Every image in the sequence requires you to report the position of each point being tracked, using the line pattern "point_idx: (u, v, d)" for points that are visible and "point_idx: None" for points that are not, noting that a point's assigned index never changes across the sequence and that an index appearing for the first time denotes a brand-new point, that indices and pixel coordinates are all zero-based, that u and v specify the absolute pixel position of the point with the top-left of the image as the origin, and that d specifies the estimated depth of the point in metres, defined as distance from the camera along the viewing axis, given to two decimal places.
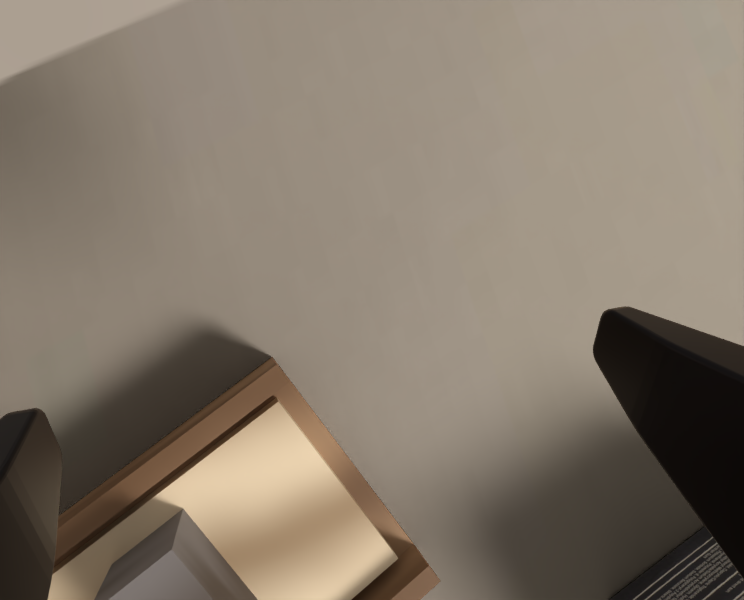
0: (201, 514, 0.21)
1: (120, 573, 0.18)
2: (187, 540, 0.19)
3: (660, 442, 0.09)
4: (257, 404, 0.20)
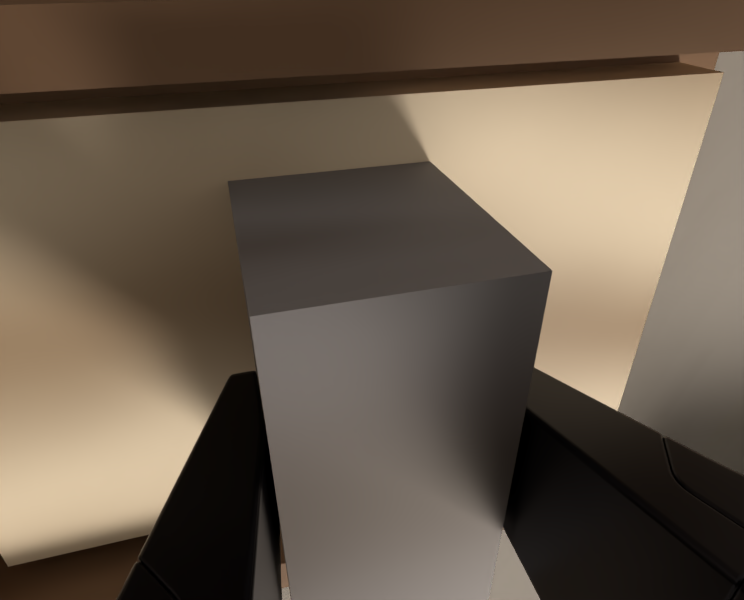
0: None
1: (308, 229, 0.06)
2: None
3: None
4: None
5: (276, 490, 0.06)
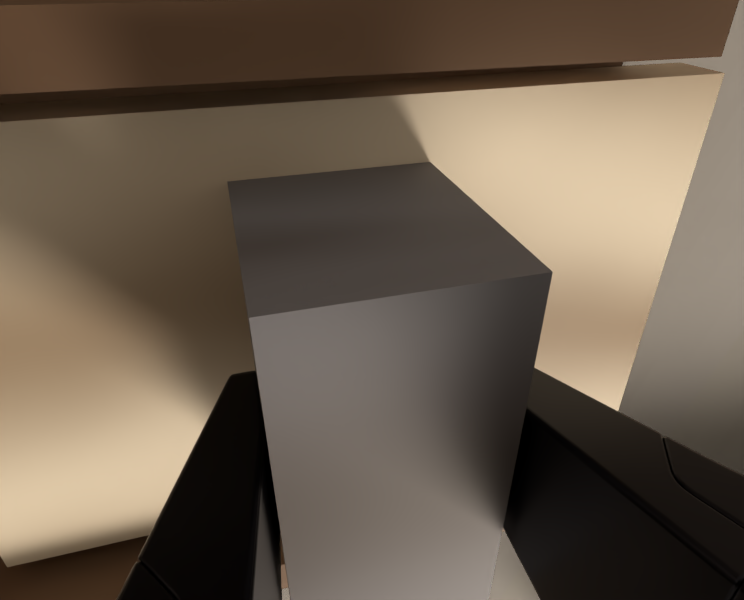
0: None
1: (308, 230, 0.06)
2: None
3: None
4: (636, 56, 0.07)
5: (275, 491, 0.06)
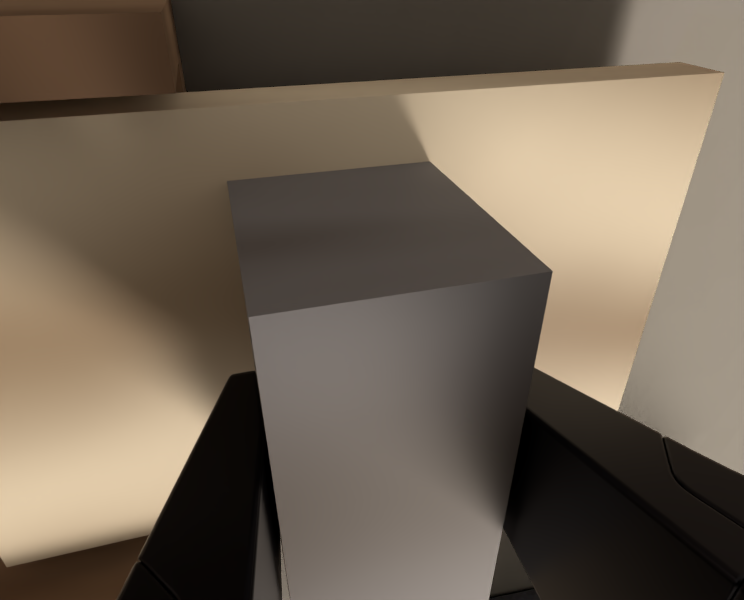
0: None
1: (307, 229, 0.06)
2: None
3: None
4: (35, 95, 0.06)
5: (275, 491, 0.06)
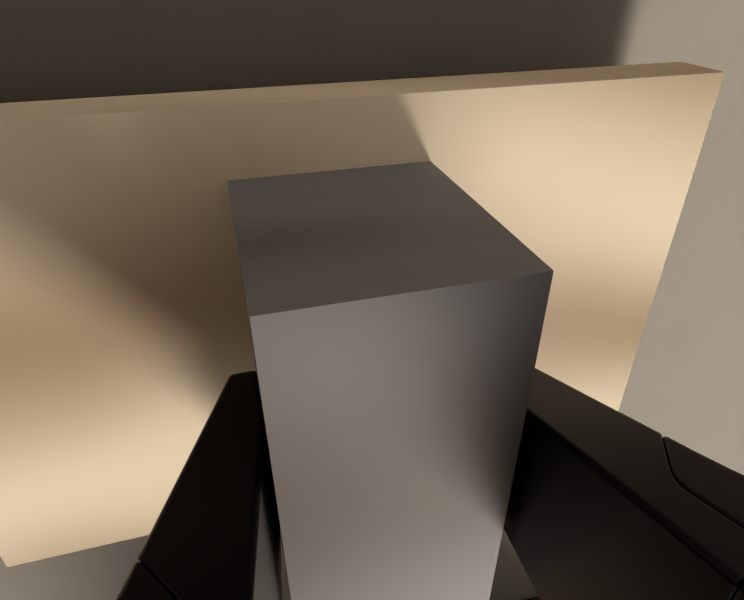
0: None
1: (308, 229, 0.06)
2: None
3: None
4: None
5: (276, 491, 0.06)
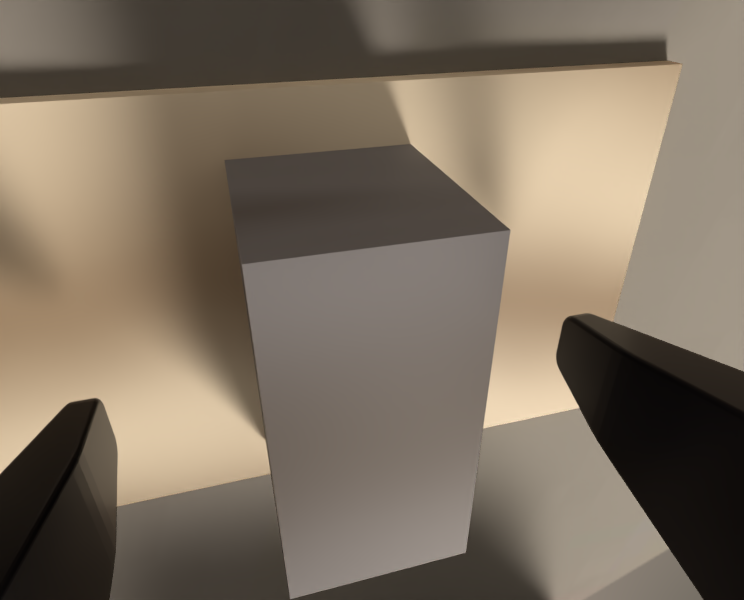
0: None
1: (296, 198, 0.07)
2: None
3: (619, 452, 0.09)
4: None
5: (266, 431, 0.07)
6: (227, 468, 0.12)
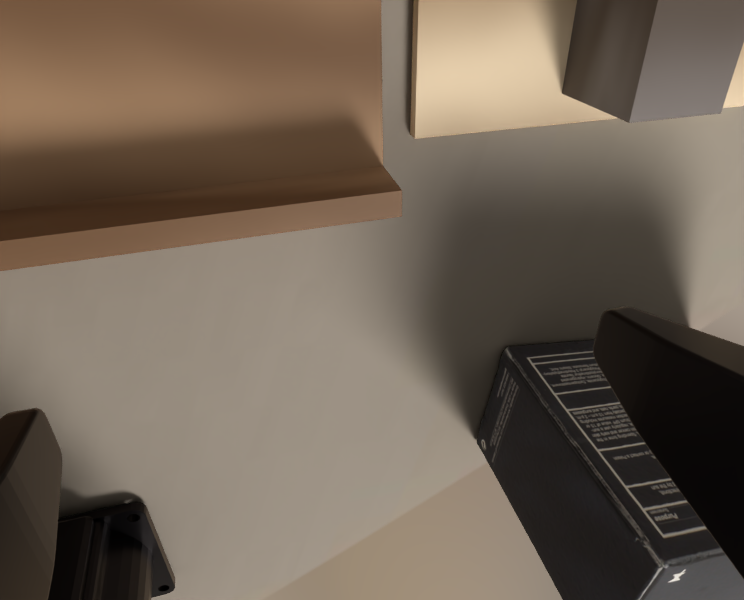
0: None
1: None
2: None
3: (660, 442, 0.09)
4: None
5: None
6: (535, 113, 0.18)
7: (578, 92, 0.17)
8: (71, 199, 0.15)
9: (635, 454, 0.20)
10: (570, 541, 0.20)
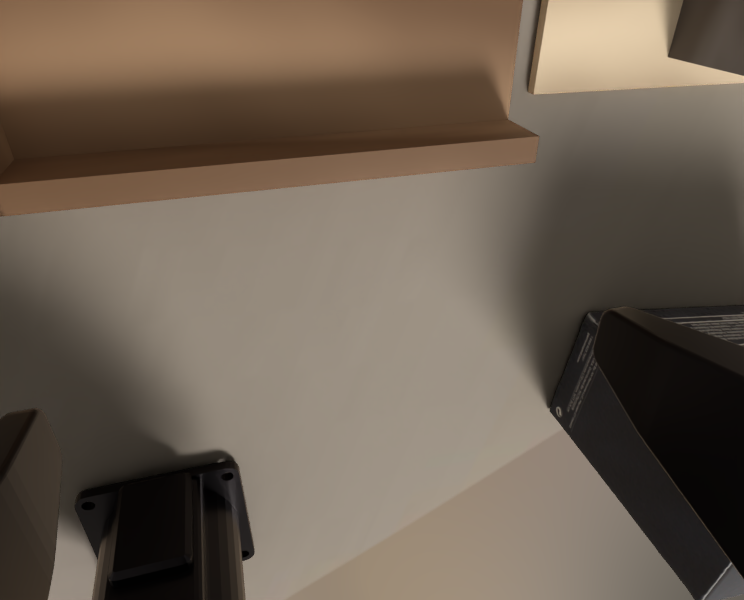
0: None
1: None
2: None
3: (660, 442, 0.09)
4: None
5: None
6: (642, 75, 0.19)
7: (688, 54, 0.18)
8: (227, 139, 0.16)
9: None
10: (669, 490, 0.21)
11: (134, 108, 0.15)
